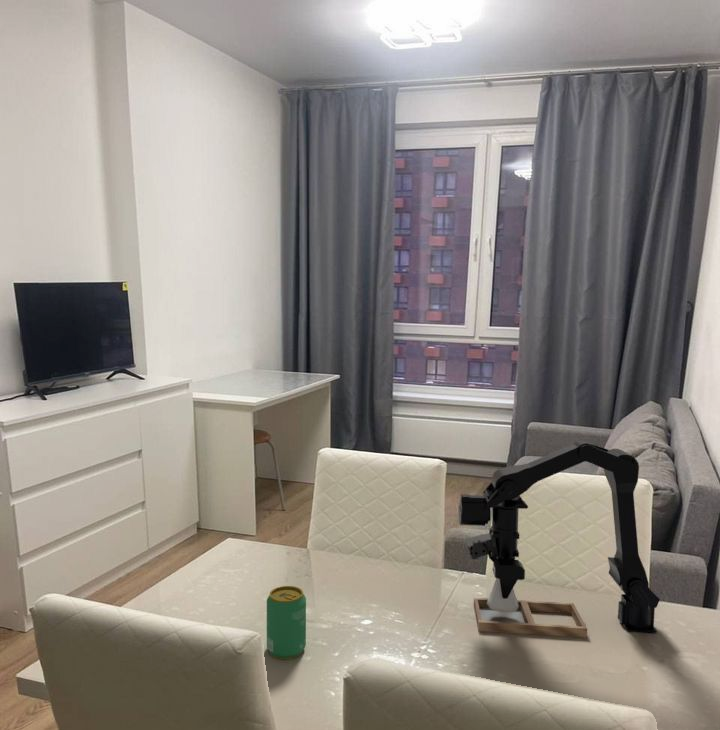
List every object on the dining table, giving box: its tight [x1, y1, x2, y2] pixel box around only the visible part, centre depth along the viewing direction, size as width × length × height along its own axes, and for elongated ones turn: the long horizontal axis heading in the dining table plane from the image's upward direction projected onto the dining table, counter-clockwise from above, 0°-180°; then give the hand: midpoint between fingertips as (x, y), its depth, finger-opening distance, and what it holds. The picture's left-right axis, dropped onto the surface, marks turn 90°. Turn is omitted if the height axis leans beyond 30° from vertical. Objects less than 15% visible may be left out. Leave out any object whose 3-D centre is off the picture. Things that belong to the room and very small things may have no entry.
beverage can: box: [266, 585, 307, 660], centre depth 122 cm, size 8×8×12 cm
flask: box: [487, 578, 519, 612], centre depth 136 cm, size 7×7×10 cm
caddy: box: [473, 597, 588, 638], centre depth 136 cm, size 23×12×2 cm, turn 84°
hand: (503, 592), depth 136 cm, fingers closed on flask, 5 cm apart
